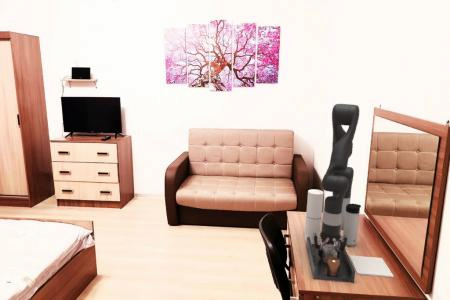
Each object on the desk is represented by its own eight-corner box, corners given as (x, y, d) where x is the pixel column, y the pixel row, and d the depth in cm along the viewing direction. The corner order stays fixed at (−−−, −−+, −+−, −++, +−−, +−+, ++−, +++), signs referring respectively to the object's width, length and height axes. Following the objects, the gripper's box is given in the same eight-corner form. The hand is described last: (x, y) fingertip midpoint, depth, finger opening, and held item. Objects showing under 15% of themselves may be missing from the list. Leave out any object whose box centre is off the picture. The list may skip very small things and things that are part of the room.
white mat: (349, 256, 147) (349, 255, 147) (381, 259, 145) (382, 258, 145) (357, 274, 133) (357, 273, 133) (393, 277, 132) (393, 276, 131)
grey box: (320, 250, 145) (321, 241, 144) (332, 251, 145) (333, 242, 144) (324, 261, 137) (325, 251, 136) (336, 262, 136) (337, 252, 135)
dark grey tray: (306, 246, 155) (307, 231, 153) (339, 249, 153) (341, 234, 151) (313, 278, 130) (315, 261, 128) (353, 282, 128) (355, 265, 126)
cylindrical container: (303, 241, 160) (307, 193, 154) (305, 235, 166) (309, 188, 161) (318, 244, 157) (322, 195, 152) (320, 238, 163) (324, 190, 158)
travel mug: (357, 247, 155) (362, 207, 151) (343, 245, 156) (347, 206, 152) (355, 241, 161) (359, 203, 157) (341, 239, 162) (345, 201, 158)
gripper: (347, 218, 140) (343, 254, 144) (312, 216, 142) (310, 251, 145) (351, 226, 133) (347, 263, 136) (315, 223, 134) (312, 260, 138)
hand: (328, 257), depth 141 cm, fingers open, 5 cm apart
